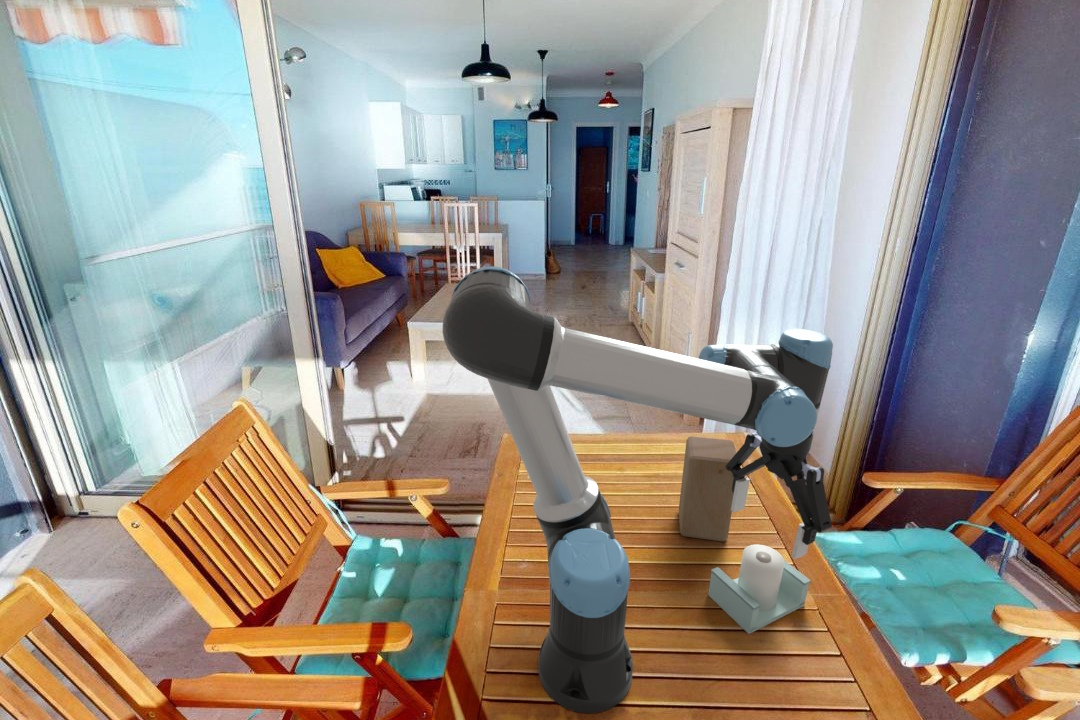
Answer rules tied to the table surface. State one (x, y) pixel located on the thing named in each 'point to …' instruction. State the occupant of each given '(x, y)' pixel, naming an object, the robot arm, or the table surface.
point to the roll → (761, 574)
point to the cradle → (747, 607)
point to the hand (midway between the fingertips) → (766, 531)
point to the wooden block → (706, 489)
